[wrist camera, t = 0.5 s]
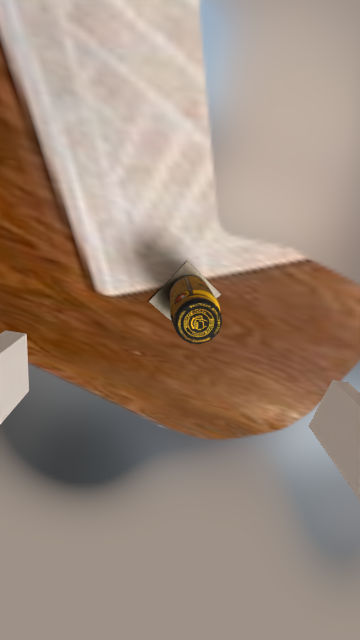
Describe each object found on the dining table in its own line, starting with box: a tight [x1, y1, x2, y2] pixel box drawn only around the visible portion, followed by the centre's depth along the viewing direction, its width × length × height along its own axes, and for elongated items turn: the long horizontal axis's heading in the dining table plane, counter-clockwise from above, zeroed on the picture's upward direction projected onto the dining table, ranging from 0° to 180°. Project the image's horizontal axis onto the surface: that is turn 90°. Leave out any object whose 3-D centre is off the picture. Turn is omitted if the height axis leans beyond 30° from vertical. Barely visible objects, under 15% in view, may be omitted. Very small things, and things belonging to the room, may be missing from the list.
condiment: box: [149, 261, 222, 344], centre depth 31 cm, size 7×8×12 cm
